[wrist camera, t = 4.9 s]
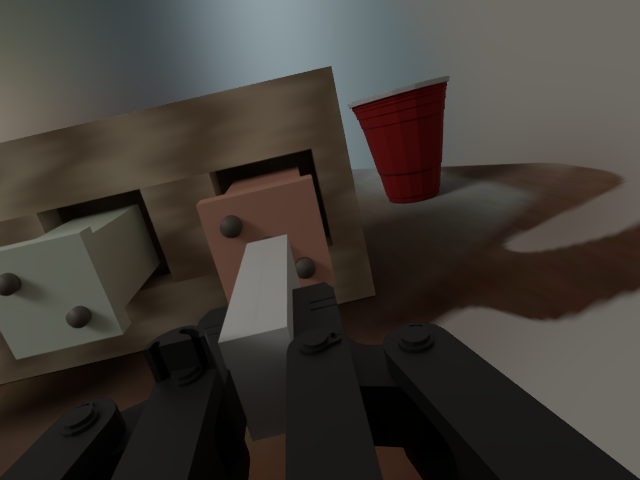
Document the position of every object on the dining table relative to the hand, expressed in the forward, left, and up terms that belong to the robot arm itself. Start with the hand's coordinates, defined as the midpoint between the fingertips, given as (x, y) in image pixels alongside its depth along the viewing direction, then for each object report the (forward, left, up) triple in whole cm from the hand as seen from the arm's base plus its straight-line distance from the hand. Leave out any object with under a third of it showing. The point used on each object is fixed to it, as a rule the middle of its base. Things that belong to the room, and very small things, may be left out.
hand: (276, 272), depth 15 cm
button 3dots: (0, +7, -2) cm, 7 cm away
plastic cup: (+14, +31, -7) cm, 34 cm away
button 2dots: (-10, +7, -2) cm, 13 cm away
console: (-10, +15, -7) cm, 19 cm away
